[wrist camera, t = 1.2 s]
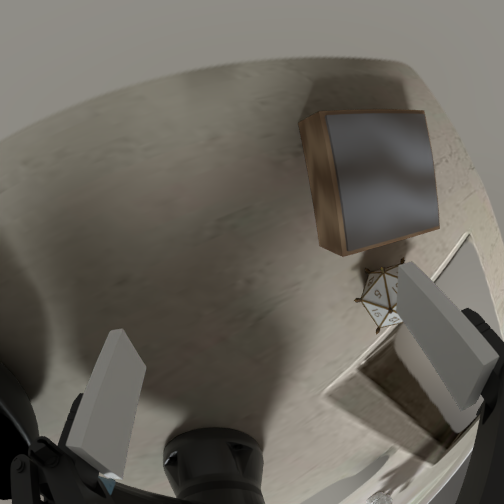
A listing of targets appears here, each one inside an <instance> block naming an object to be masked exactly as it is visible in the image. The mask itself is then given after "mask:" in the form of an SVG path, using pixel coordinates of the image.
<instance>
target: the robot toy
mask: <svg viewBox="0 0 504 504" xmlns="http://www.w3.org/2000/svg"><path fill="white" fill-rule="evenodd" d="M366 503H367V504H392V498H391V496H390V495H389V494H388V495H385V494H384V493H383V492H379V493H376V494H374V495H373V496H371V497H370V498H369V499H367V501H366Z"/></svg>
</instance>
